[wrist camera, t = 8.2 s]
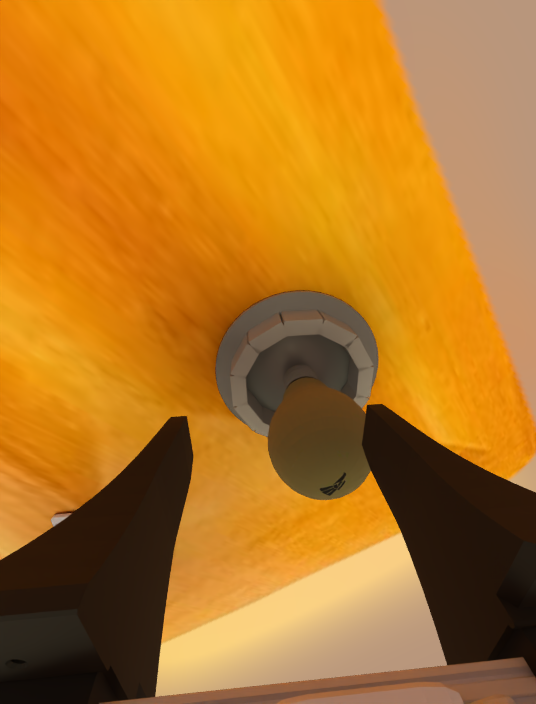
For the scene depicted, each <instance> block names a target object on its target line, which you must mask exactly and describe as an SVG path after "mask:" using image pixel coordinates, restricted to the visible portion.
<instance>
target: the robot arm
mask: <svg viewBox="0 0 536 704" xmlns="http://www.w3.org/2000/svg"><path fill="white" fill-rule="evenodd" d="M362 447H363V450H364V453H365V456H366V459H367V462H368V464H369V467H370V469H371V471H372V473H373V475H374V477H375V479H376V481H377V484H378V486H379V488H380V490H381V491H382V493H383V495H384V497H385V499H386V501H387V503H388V505H389V507H390V509H391V511H392V513H393V515H394V517H395V519H396V521H397V524H398V526H399V528H400V530H401V533H402V535H403V537H404V540H405V543H406V545H407V548H408V551H409V553H410V555H411V558H412V561H413V564H414V567H415V569H416V572H417V575H418V578H419V580H420V583H421V586H422V588H423V591H424V594H425V597H426V600H427V603H428V606H429V609H430V612H431V615H432V618H433V621H434V624H435V627H436V630H437V634H438V637H439V640H440V643H441V646H442V650H443V652H444V656H445V659H446V662H447V666H437V667H428V668H419V669H410V670H400V671H391V672H382V673H372V674H364V675H355V676H345V677H336V678H327V679H318V680H308V681H298V682H289V683H280V684H271V685H262V686H252V687H244V688H234V689H225V690H216V691H206V692H197V693H188V694H179V695H169V696H159V697H155V692H156V684H157V674H158V664H159V656H160V647H161V639H162V631H163V623H164V614H165V607H166V600H167V592H168V585H169V578H170V571H171V565H172V558H173V552H174V547H175V542H176V537H177V533H178V529H179V525H180V521H181V517H182V513H183V509H184V505H185V501H186V497H187V493H188V489H189V484H190V480H191V472H192V464H193V451H192V445H191V439H190V433H189V427H188V421H187V416H180V417H171V418H170V419H169V420H168V421H167V422H166V423H165V424H164V426H163V427H162V428H161V429H160V430H159V432H158V433H157V434H156V435H155V436H154V437H153V439H152V440H151V441H150V442H149V443H148V444H147V445H146V447H145V448H144V449H143V450H142V451H141V452H140V453H139V454H138V456H137V457H136V458H135V459H134V460H133V461H132V462H131V463H130V464H129V465H128V466H127V467H126V468H125V469H124V470H123V471H122V472H121V473H120V474H119V475H118V476H117V477H116V478H115V479H114V480H113V481H111V482H110V483H109V484H108V485H107V486H106V487H105V488H103V489H102V490H101V491H100V492H99V493H98V494H96V495H95V496H94V497H93V498H92V499H90V500H89V501H88V502H86V503H85V504H84V505H82V506H81V507H80V508H79V509H77V510H76V511H75V512H73V513H67V514H57V515H54V516H53V518H52V519H51V522H52V524H53V526H54V527H53V528H51V529H50V530H48V531H47V532H45V533H44V534H42V535H41V536H39V537H38V538H36V539H34V540H33V541H31V542H30V543H28V544H27V545H25V546H23V547H22V548H20V549H18V550H17V551H15V552H13V553H12V554H10V555H8V556H7V557H5V558H3V559H2V560H0V704H536V493H535V492H533V491H531V490H528V489H526V488H523V487H521V486H519V485H517V484H514V483H512V482H510V481H508V480H506V479H503V478H501V477H499V476H497V475H495V474H493V473H491V472H489V471H487V470H485V469H483V468H481V467H479V466H477V465H475V464H473V463H472V462H470V461H468V460H466V459H464V458H462V457H461V456H459V455H457V454H455V453H454V452H452V451H450V450H449V449H447V448H446V447H444V446H442V445H441V444H439V443H438V442H436V441H434V440H433V439H431V438H430V437H428V436H427V435H425V434H424V433H422V432H421V431H420V430H418V429H417V428H415V427H414V426H412V425H411V424H410V423H408V422H407V421H405V420H404V419H403V418H401V417H400V416H399V415H397V414H396V413H394V412H393V411H392V410H390V409H389V408H387V407H386V406H384V405H383V404H375V405H367V410H366V417H365V424H364V431H363V439H362Z"/></svg>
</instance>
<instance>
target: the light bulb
mask: <svg viewBox="0 0 536 704" xmlns="http://www.w3.org/2000/svg"><path fill="white" fill-rule="evenodd" d="M283 383H284V387H285V393H284V395H283V401H282V403H281V404H280V405H279V406H278V408H277V410H276V411H275V413H274V415H273V417H272V420H271V423H270V426H269V432H268V451H269V455H270V458H271V461H272V464H273V467H274V468H275V470H276V472H277V473H278V475H279V476H280V478H281V479H282V480H283V481H284V482H285V483H286V484H287V485H288V486H289V487H290V488H291V489H293V490H294V491H296V492H297V493H299V494H301V495H304V496H306V497H309V498H312V499H317V500H330V499H336V498H340V497H343V496H345V495H347V494H349V493H351V492H353V491H354V490H356V489H357V488H358V487H359V486H360V485H361V484H362V483H363V482H364V480H365V479H366V477H367V476H368V474H369V473H370V471H371V469H370V467H369V464H368V462H367V459H366V456H365V453H364V450H363V447H362V439H363V431H364V424H365V417H366V414H365V412H364V411H363V410H362V408H361V407H360V406H359V405H358V404H357V403H356V402H355V401H354V400H353V399H351V398H350V397H348V396H347V395H345V394H344V393H341V392H339V391H337V390H335V389H332V388H328V387H327V386H326V385H325V384H324V383H323V382H321V381H320V380H319V379H318V377H317V375H316V373H315V371H314V370H313V369H312V368H311V367H309V366H307V365H302V364H301V365H296V366H293V367H291V368H290V369H289V370H288V371H287V372H286V373H285V375H284V378H283Z"/></svg>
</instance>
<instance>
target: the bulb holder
mask: <svg viewBox="0 0 536 704" xmlns="http://www.w3.org/2000/svg"><path fill="white" fill-rule="evenodd" d="M301 364H302V365H307V366H309V367H311V368H312V369H313V370H314V371H315V373H316V375H317V377H318V379H319V380H320V381H321V382H323V383H324V384H325V385H326V386H327V387H328V388H332V389H335V390H337V391H339V392H341V393H344V394H345V395H347V396H348V397H350V398H351V399H353V400H354V401H355V402H356V403H357V404H358V405H359V406H360V407H361V408H363V406H364V405H365V404H366V403H367V401H368V400H369V398H368V397H370V393H371V388H372V386H373V383H374V380H375V377H376V373H377V368H378V349H377V345H376V341H375V338H374V335H373V333H372V331H371V329H370V327H369V326H368V324H367V322H366V321H365V320H364V319H363V318H362V316H361V315H360V314H359V313H358V312H357V311H355V310H354V309H353V308H352V307H351V306H350V305H348V304H346V303H345V302H343V301H342V300H340V299H338V298H335V297H333V296H331V295H328V294H324V293H321V292H314V291H290V292H283V293H279V294H275V295H272V296H270V297H267V298H265V299H263V300H261V301H259V302H257V303H255V304H253V305H252V306H251V307H249V308H248V309H246V310H245V311H244V312H243V313H242V314H241V315H240V316H239V317H237V318H236V319H235V321H234V322H233V323H232V324H231V326H230V327H229V328H228V330H227V332H226V333H225V335H224V337H223V339H222V342H221V344H220V347H219V351H218V354H217V360H216V380H217V385H218V389H219V392H220V394H221V397H222V399H223V400H224V402H225V404H226V405H227V407H228V408H229V409H230V411H231V412H232V413H233V414H234V415H235V416H236V417H237V418H238V419H240V420H241V421H242V422H243V423H245V424H247V425H248V426H249V427H250V428H251V429H252V430H253V431H254V430H255V433H258V434H261V435H263V436H266V437H268V432H269V426H270V423H271V420H272V417H273V415H274V413H275V411H276V410H277V408H278V406H279V405H280V404H281V403H282V401H283V395H284V393H285V387H284V383H283V378H284V375H285V373H286V372H287V371H288V370H289V369H290V368H291V367H293V366H296V365H301Z"/></svg>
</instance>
